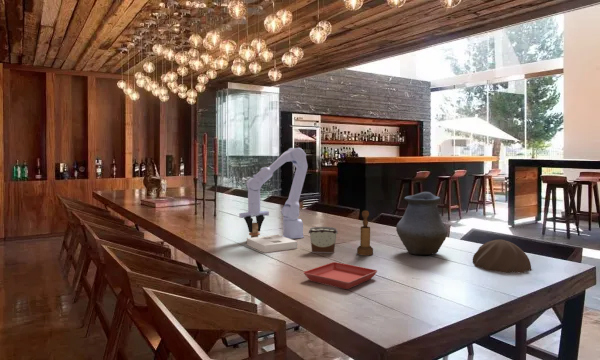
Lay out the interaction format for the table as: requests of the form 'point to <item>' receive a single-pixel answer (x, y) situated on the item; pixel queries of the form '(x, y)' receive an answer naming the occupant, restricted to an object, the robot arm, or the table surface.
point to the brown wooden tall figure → (365, 237)
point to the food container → (323, 239)
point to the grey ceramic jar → (422, 225)
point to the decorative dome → (501, 257)
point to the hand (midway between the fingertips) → (254, 231)
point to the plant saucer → (340, 275)
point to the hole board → (271, 243)
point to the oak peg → (254, 230)
